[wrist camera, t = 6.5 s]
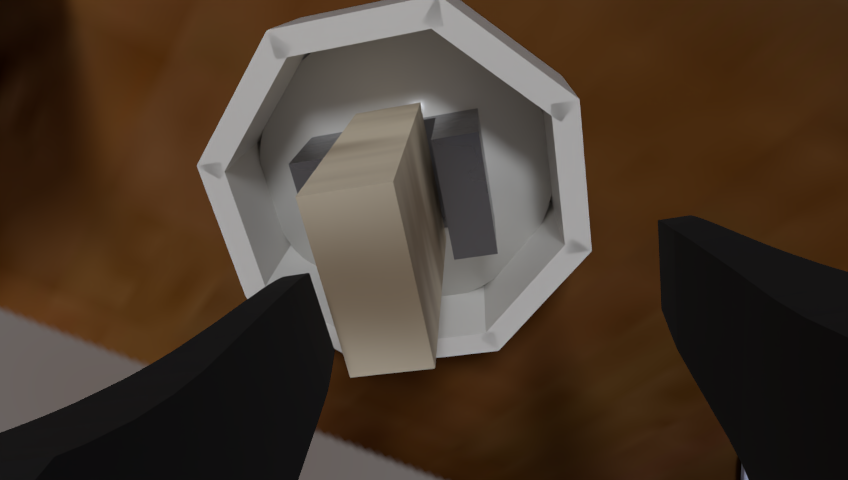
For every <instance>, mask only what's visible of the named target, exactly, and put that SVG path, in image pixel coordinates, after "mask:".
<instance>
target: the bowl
mask: <svg viewBox="0 0 848 480" xmlns="http://www.w3.org/2000/svg"><path fill="white" fill-rule="evenodd" d="M311 52H312V53H311ZM414 103H420V104H421V109H422V114H423V118H425V117H430V116H436V115H442V114H447V113H453V112H459V111H464V110H470V109H476V108H478V114H479V120H480V127H481V133H482V140H483V146H484V152H485V159H486V165H487V172H488V178H489V185H490V191H491V198H492V204H493V210H494V217H495V228H496V239H497V250H498V254H493V255H485V256H478V257H471V258H464V259H456V260H454V256H453V251H452V246H451V240H450V235H449V230H448V227H447V228H445V233H446V248H445V260H444V271H443V283H442V295H441V306H440V318H439V329H438V341H437V353H436V358H440V357H449V356H458V355H466V354H475V353H484V352H493V351H499V350H500V349H501V348H502V347H503V346H504V344H505V343H506V342H507V341H508V340H509V339H510V338H511V337H512V336H513V335H514V334H515V333H516V332H517V331H518V329H519V328H520V327H521V326H522V325H523V324H524V323H525V322H526V321H527V320H528V319H529V318H530V317H531V315H532V314H533V313H534V312H535V311H536V310H537V309H538V308H539V307H540V306H541V305H542V304H543V303H544V302H545V300H546V299H547V298H548V297H549V296H550V295H551V294H552V293H553V292H554V291H555V290H556V289H557V288H558V286H559V285H560V284H561V283H562V282H563V281H564V280H565V279H566V278H567V277H568V276H569V275H570V274H571V273H572V271H573V270H574V269H575V268H576V267H577V266H578V265H579V264H580V263H581V262H582V261H583V260H584V259H585V258H586V256H587V255H588V254H589V253H590V252H591V251H592V248H591V236H590V223H589V211H588V199H587V186H586V174H585V162H584V149H583V137H582V125H581V112H580V100H579V98H578V97H577V96H576V94H575V93H574V92H573V90H572V89H571V88H570V86H569V85H568V84H567V82H566V81H565V80H564V78H563V77H562V76H561V75H560V74H559V73H557V72H556V71H555V70H553V69H552V68H551V67H549V66H548V65H547V64H545V63H544V62H542V61H541V60H540V59H538V58H537V57H536V56H534V55H533V54H532V53H530V52H529V51H528V50H526V49H525V48H524V47H522V46H521V45H520V44H518V43H517V42H516V41H514V40H513V39H512V38H510V37H509V36H508V35H506V34H505V33H504V32H502V31H501V30H499V29H498V28H497V27H495V26H494V25H493V24H491V23H490V22H489V21H487V20H486V19H485V18H483V17H482V16H481V15H479V14H478V13H477V12H475V11H474V10H473V9H471V8H470V7H469V6H467V5H466V4H465V3H463V2H462V1H461V0H383V1H379V2H374V3H369V4H364V5H359V6H355V7H350V8H345V9H340V10H335V11H330V12H326V13H321V14H316V15H311V16H306V17H302V18H299V19H296V20H293V21H290V22H288V23H285V24H282V25H279V26H277V27H274V28H271V29H268V30H267V31H266V33H265V35H264V37H263V39H262V41H261V42H260V44H259V46H258V48H257V50H256V52H255V54H254V56H253V58H252V60H251V62H250V64H249V66H248V68H247V70H246V71H245V73H244V75H243V77H242V79H241V81H240V83H239V85H238V87H237V89H236V91H235V93H234V95H233V97H232V99H231V101H230V102H229V104H228V106H227V108H226V110H225V112H224V114H223V116H222V118H221V120H220V122H219V124H218V126H217V128H216V130H215V131H214V133H213V135H212V137H211V139H210V141H209V143H208V145H207V147H206V149H205V151H204V153H203V155H202V157H201V159H200V161H199V162H198V164H197V168H198V170H199V173H200V176H201V178H202V181H203V184H204V186H205V189H206V192H207V194H208V197H209V200H210V202H211V205H212V208H213V210H214V213H215V216H216V218H217V221H218V224H219V226H220V229H221V232H222V234H223V237H224V240H225V242H226V245H227V248H228V250H229V253H230V256H231V258H232V261H233V264H234V266H235V269H236V272H237V274H238V277H239V280H240V283H241V285H242V288H243V291H244V293H245V296H246V298H248V299H249V298H250V297H251V296H253V295H254V294H256V293H257V292H258V291H260V290H261V289H263V288H264V287H266V286H267V285H269V284H270V283H272V282H274V281H275V280H277V279H279V278H281V277H284V276H291V275H298V274H304V273H309V274H310V277H311V280H312V283H313V286H314V289H315V292H316V295H317V298H318V301H319V304H320V307H321V310H322V313H323V316H324V319H325V322H326V326H327V329H328V332H329V335H330V338H331V341H332V344H333V347H334V349H336V350H338V351H340V352H341V353H343V352H342V349H341V346H340V342H339V339H338V336H337V333H336V329H335V326H334V323H333V319H332V316H331V313H330V309H329V306H328V303H327V300H326V296H325V293H324V290H323V286H322V283H321V280H320V277H319V273H318V270H317V267H316V263H315V260H314V257H313V253H312V250H311V247H310V244H309V240H308V237H307V234H306V230H305V227H304V224H303V220H302V217H301V214H300V211H299V207H298V204H297V201H296V195H297V191H296V187H295V184H294V181H293V177H292V174H291V171H290V168H289V163H290V162H291V160H292V159H293V158H294V157H295V156H296V155H297V154H298V152H299V151H300V150H301V149H302V148H303V147H304V146H305V144H306V143H307V142H308V141H309V140H310V139H311V138H312V137H316V136H322V135H328V134H333V133H339V132H343V131H344V129H345V128H346V127H347V125H348V124H349V122H350V121H351V120H352V118H353V117H354V116H355V114H357V113H363V112H369V111H374V110H380V109H386V108H391V107H397V106H403V105H408V104H414ZM540 108H541V109H540ZM550 199H551V202H550ZM549 202H550V203H549Z"/></svg>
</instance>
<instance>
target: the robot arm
mask: <svg viewBox="0 0 848 480" xmlns="http://www.w3.org/2000/svg"><path fill="white" fill-rule="evenodd" d="M658 232H659V256H660V281H661V305H662V311H663V314H664V316H665V319H666V322H667V324H668V327H669V330H670V332H671V335H672V337H673V340H674V342H675V344H676V347H677V349H678V351H679V353H680V355H681V357H682V358H683V360H684V362H685V364H686V365H687V367H688V369H689V371H690V372H691V374H692V376H693V378H694V379H695V381H696V383H697V385H698V386H699V388H700V390H701V392H702V393H703V395H704V397H705V398H706V400H707V402H708V404H709V405H710V407H711V409H712V410H713V412H714V414H715V416H716V417H717V419H718V421H719V423H720V424H721V426H722V428H723V429H724V431H725V433H726V435H727V436H728V438H729V440H730V442H731V444H732V446H733V448H734V449H735V451H736V453H737V455H738V457H739V459H740V461H741V463H742V464H741V480H848V272H846V271H842V270H839V269H836V268H832V267H829V266H826V265H822V264H819V263H816V262H813V261H811V260H808V259H805V258H802V257H799V256H796V255H793V254H790V253H787V252H785V251H782V250H779V249H776V248H774V247H771V246H769V245H766V244H763V243H761V242H758V241H756V240H753V239H751V238H749V237H746V236H744V235H741V234H739V233H736V232H734V231H732V230H729V229H727V228H724V227H722V226H719V225H717V224H714V223H712V222H709V221H707V220H704V219H701V218H698V217H695V216H684V217H677V218H671V219H664V220H658ZM334 352H335V350H334V347H333V344H332V341H331V338H330V335H329V332H328V329H327V326H326V322H325V319H324V316H323V313H322V310H321V307H320V304H319V301H318V298H317V295H316V292H315V289H314V286H313V283H312V280H311V277H310V274H309V273H304V274H298V275H291V276H284V277H281V278H279V279H277V280H275V281H274V282H272V283H270V284H269V285H267V286H266V287H264V288H263V289H261V290H260V291H258V292H257V293H256V294H254V295H253V296H251V297H250V298H249V299H247V300H246V301H244V302H243V303H242V304H240V305H239V306H238V307H236V308H235V309H233V310H232V311H231V312H229V313H228V314H227V315H225V316H224V317H222V318H221V319H220V320H218V321H217V322H215V323H214V324H213V325H211V326H210V327H208V328H207V329H205V330H204V331H202V332H201V333H199V334H198V335H196V336H195V337H193V338H192V339H190V340H189V341H187V342H186V343H184V344H183V345H182V346H180V347H179V348H177V349H175V350H174V351H172V352H171V353H169V354H167V355H166V356H164V357H162V358H161V359H159V360H157V361H156V362H154V363H152V364H151V365H149V366H147V367H145V368H143V369H142V370H140V371H138V372H136V373H135V374H133V375H131V376H129V377H127V378H125V379H124V380H121V381H119V382H117V383H115V384H113V385H111V386H109V387H107V388H105V389H103V390H101V391H99V392H97V393H94V394H92V395H90V396H88V397H86V398H84V399H82V400H80V401H78V402H76V403H74V404H71V405H69V406H67V407H64V408H62V409H60V410H57V411H55V412H53V413H50V414H48V415H45V416H43V417H41V418H38V419H35V420H33V421H30V422H28V423H25V424H22V425H20V426H18V427H15V428H12V429H9V430H7V431H4V432H1V433H0V480H298V479H299V475H300V473H301V470H302V467H303V464H304V461H305V458H306V455H307V452H308V449H309V446H310V443H311V440H312V437H313V434H314V431H315V429H316V426H317V423H318V420H319V417H320V414H321V410H322V407H323V404H324V401H325V398H326V395H327V392H328V387H329V382H330V377H331V372H332V365H333V358H334Z"/></svg>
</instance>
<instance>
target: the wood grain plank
mask: <svg viewBox="0 0 848 480" xmlns="http://www.w3.org/2000/svg"><path fill="white" fill-rule="evenodd" d="M296 201H297V204H298V207H299V211H300V214H301V217H302V220H303V224H304V227H305V230H306V234H307V237H308V240H309V244H310V247H311V250H312V253H313V257H314V260H315V263H316V267H317V270H318V273H319V277H320V280H321V283H322V286H323V290H324V293H325V296H326V300H327V303H328V306H329V309H330V313H331V316H332V319H333V323H334V326H335V329H336V333H337V336H338V339H339V342H340V346H341V349H342V352H343V356H344V359H345V362H346V366H347V369H348V372H349V375H350V378H352V377H361V376H370V375H380V374H389V373H398V372H407V371H417V370H426V369H435V364H436V353H437V341H438V329H439V318H440V306H441V295H442V283H443V271H444V260H445V248H446V233H445V228H444V223H443V218H442V213H441V208H440V202H439V197H438V192H437V187H436V182H435V176H434V171H433V166H432V161H431V156H430V150H429V145H428V140H427V135H426V130H425V124H424V119H423V114H422V109H421V104H420V103H414V104H408V105H403V106H397V107H391V108H386V109H380V110H374V111H369V112H363V113H357V114H355V116H354V117H353V118H352V120H351V121H350V122H349V124H348V125H347V127H346V128H345V129H344V131H343V132H342V133H341V135H340V136H339V138H338V139H337V140H336V142H335V143H334V144H333V146H332V147H331V149H330V150H329V151H328V153H327V154H326V155H325V157H324V158H323V160H322V161H321V162H320V164H319V165H318V166H317V168H316V169H315V171H314V172H313V173H312V175H311V176H310V177H309V179H308V180H307V182H306V183H305V184H304V186H303V187H302V188H301V190H300V191H299V193H298V194H297V195H296Z"/></svg>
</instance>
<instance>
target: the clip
mask: <svg viewBox="0 0 848 480" xmlns="http://www.w3.org/2000/svg"><path fill="white" fill-rule="evenodd" d="M423 119H424V124H425V130H426V135H427V140H428V145H429V150H430V156H431V161H432V166H433V171H434V176H435V182H436V187H437V192H438V197H439V202H440V208H441V213H442V218H443V223H444V228H447V227H448V230H449V235H450V240H451V246H452V251H453V256H454V260H456V259H464V258H471V257H478V256H485V255H493V254H498V250H497V239H496V228H495V217H494V210H493V204H492V198H491V191H490V185H489V178H488V172H487V165H486V159H485V152H484V146H483V140H482V133H481V127H480V120H479V114H478V108H476V109H470V110H464V111H459V112H453V113H447V114H442V115H436V116H430V117H425V118H423ZM341 133H342V132H339V133H333V134H328V135H322V136H316V137H312V138H311V139H310V140H309V141H308V142H307V143H306V144H305V146H304V147H303V148H302V149H301V150H300V151H299V152H298V154H297V155H296V156H295V157H294V158H293V159H292V160H291V162H290V163H289V168H290V171H291V174H292V177H293V181H294V184H295V187H296V191H297V194H298V193H299V191H300V190H301V188H302V187H303V186H304V184H305V183H306V182H307V180H308V179H309V177H310V176H311V175H312V173H313V172H314V171H315V169H316V168H317V166H318V165H319V164H320V162H321V161H322V160H323V158H324V157H325V155H326V154H327V153H328V151H329V150H330V149H331V147H332V146H333V144H334V143H335V142H336V140H337V139H338V138H339V136H340V135H341Z"/></svg>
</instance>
